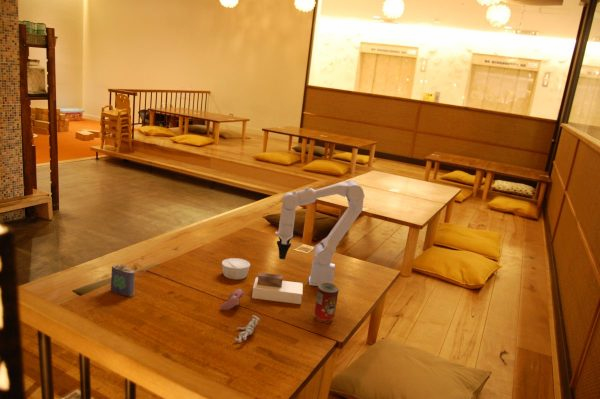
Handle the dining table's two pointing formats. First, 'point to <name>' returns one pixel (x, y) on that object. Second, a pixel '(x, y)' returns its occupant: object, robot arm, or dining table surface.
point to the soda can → (326, 302)
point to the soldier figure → (248, 329)
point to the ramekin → (235, 268)
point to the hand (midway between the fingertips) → (282, 255)
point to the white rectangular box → (279, 292)
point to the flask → (122, 281)
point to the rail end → (270, 280)
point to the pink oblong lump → (232, 300)
